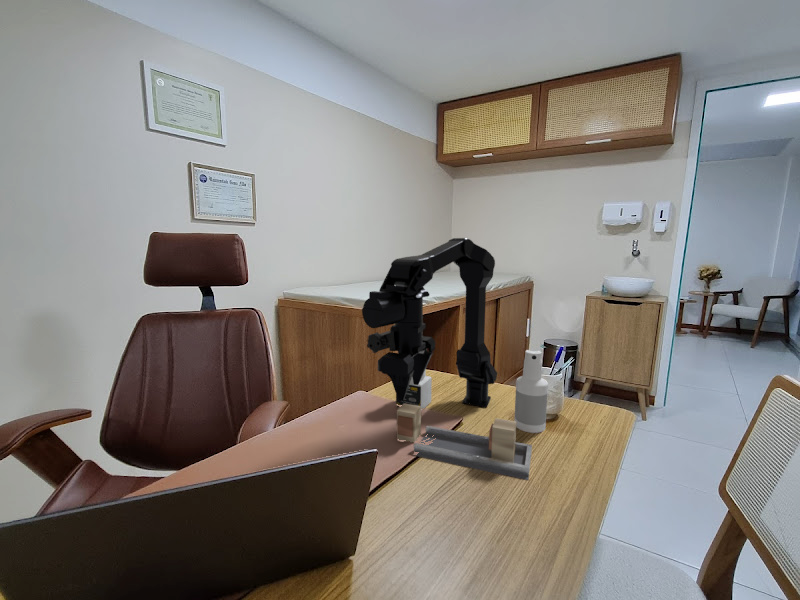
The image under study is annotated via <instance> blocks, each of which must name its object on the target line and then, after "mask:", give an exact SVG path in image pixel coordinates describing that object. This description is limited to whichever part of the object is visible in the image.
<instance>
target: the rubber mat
mask: <svg viewBox="0 0 800 600" xmlns="http://www.w3.org/2000/svg"><path fill="white" fill-rule="evenodd" d="M426 435H427V434H426V433H425V434H424V436H423V437H422V439H420V442H421V441H423V440H426V439H428V438H430V439H429V440H426V441H425V442H428V441H431V440H433V439H435V438H436V439H435V440H433V441H432V442H433V443H431V444H429V445H428V446H433V447H438V448H443V449H448V450H453V451H458V452H463V453H468V454H472V455H477V456H482V457H487V458H491V454H492V450H489V446H487V445H482V444H477V443H471V442H466V441H461V440H456V439H451V438H445V437H440V436H435V435H434V436H433V435H430V434H428V435H427V437H425V436H426ZM432 436H433V437H432ZM421 443H424V442H421ZM424 444H425V443H424ZM415 457H419V458H424V459H429V460H434V461H438V462H442V463H448V464H451V465H456V466H459V467H460V466H461V467H465V468H471V469H475V470H480V471H483V472H489V473H493V474H498V475H501V476H508V477H511V478H516V479H521V480H525V481H529V478H530V475H529V476H525V475H521V474H516V473H511V472H507V471H502V470H497V469H493V468H488V467H483V466H478V465H474V464H469V463H464V462H460V461H455V460H450V459H446V458H441V457H436V456H432V455H427V454H422V453H418V454H417V455H416V456H415ZM525 460H526V453H523V452H518V451H515V457H514V462H513V463H517V464H521V465H525Z"/></svg>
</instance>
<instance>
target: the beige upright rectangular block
mask: <svg viewBox="0 0 800 600" xmlns="http://www.w3.org/2000/svg"><path fill="white" fill-rule="evenodd" d="M489 427H490V428H489V431H488V432H489V433H488V434H489V436H488V437H489V450H492V454H491V458H492V459H497V460H502V461H507V462H512V463H513V462H514V457H515V442H517V441H516V437H517V427H516V421H514V420H509V419H503V418H497V417H496V418H494V421H493V423H491V425H490V426H489Z"/></svg>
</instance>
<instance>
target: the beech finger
mask: <svg viewBox="0 0 800 600" xmlns="http://www.w3.org/2000/svg"><path fill="white" fill-rule="evenodd" d="M421 422H422V411H421V406H417V405H411V404H405V403H404V404H403V405H402V406H401V407H398V408H397V410H396V440H397V439H399V440H406V441H405V442H407V441H410V442H409V443H412V442H415V441H416V442H417V441H418V439H419V437H420V436H421V434H422V429H421V428H422V423H421ZM419 435H420V436H419ZM417 438H418V439H417ZM416 442H415V443H416Z"/></svg>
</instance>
